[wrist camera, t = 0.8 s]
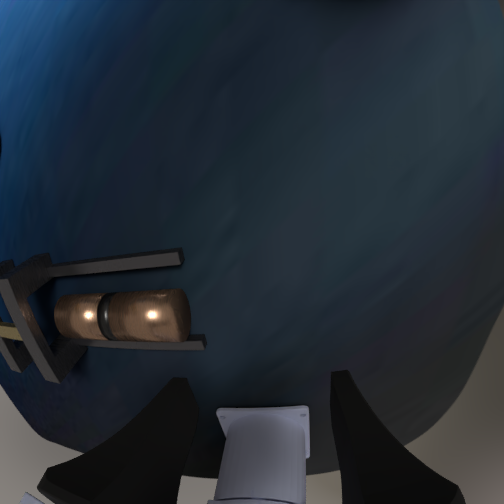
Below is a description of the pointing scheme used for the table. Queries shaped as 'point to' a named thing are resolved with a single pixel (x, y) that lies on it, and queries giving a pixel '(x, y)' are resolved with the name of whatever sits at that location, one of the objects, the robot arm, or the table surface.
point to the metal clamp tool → (62, 348)
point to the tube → (125, 316)
